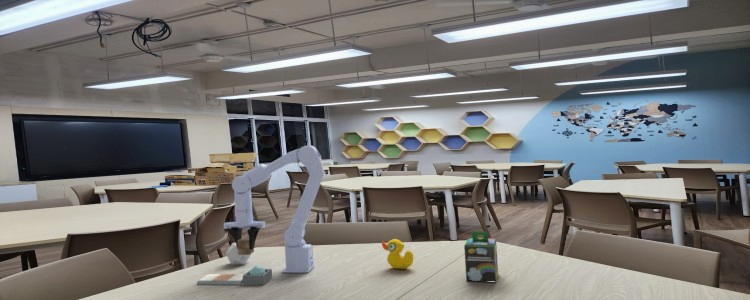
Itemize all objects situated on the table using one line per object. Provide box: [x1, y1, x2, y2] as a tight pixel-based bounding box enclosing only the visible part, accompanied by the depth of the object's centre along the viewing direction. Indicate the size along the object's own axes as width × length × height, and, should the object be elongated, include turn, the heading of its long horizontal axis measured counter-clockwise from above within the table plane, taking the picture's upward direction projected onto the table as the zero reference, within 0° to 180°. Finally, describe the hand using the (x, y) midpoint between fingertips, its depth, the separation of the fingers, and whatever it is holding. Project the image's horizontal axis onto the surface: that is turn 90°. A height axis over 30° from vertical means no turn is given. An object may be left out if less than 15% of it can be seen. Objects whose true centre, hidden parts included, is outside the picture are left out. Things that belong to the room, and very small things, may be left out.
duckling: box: [381, 238, 414, 270], centre depth 150 cm, size 11×5×10 cm, turn 63°
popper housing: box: [242, 268, 273, 286], centre depth 143 cm, size 7×7×3 cm
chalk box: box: [463, 230, 499, 282], centre depth 136 cm, size 9×9×15 cm
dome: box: [249, 265, 266, 275], centre depth 143 cm, size 5×5×4 cm
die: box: [225, 242, 252, 266], centre depth 165 cm, size 8×9×10 cm
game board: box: [196, 273, 245, 285], centre depth 145 cm, size 15×7×1 cm, turn 82°
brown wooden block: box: [238, 237, 255, 256], centre depth 153 cm, size 4×4×5 cm
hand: (245, 248), depth 153 cm, fingers closed on brown wooden block, 4 cm apart
